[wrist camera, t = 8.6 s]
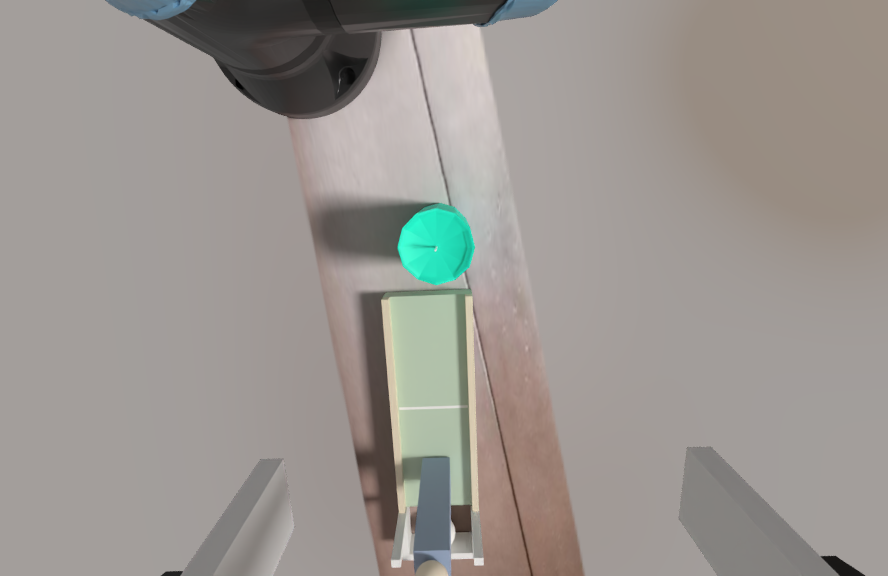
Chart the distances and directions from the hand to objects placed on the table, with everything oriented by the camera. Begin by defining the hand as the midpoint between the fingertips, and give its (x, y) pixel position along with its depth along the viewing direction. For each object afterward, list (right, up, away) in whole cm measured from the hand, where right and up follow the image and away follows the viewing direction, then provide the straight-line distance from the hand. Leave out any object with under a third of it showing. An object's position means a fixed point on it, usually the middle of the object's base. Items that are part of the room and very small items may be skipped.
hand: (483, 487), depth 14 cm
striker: (-2, -14, +32) cm, 35 cm away
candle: (-2, +12, +29) cm, 31 cm away
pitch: (-2, -6, +33) cm, 33 cm away
